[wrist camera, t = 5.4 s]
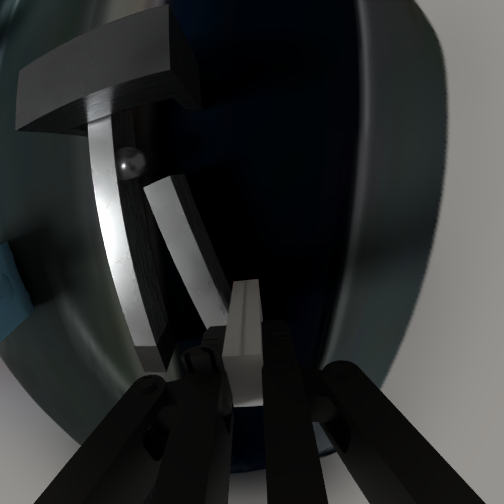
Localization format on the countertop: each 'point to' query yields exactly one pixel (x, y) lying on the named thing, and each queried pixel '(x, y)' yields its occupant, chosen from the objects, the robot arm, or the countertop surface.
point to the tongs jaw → (190, 247)
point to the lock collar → (109, 74)
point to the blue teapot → (11, 294)
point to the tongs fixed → (130, 234)
